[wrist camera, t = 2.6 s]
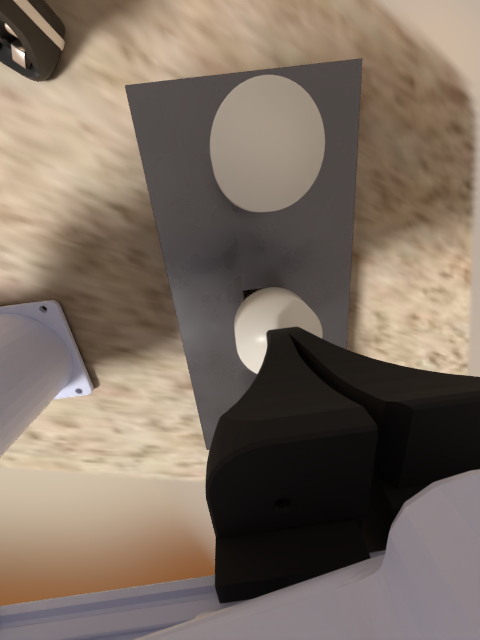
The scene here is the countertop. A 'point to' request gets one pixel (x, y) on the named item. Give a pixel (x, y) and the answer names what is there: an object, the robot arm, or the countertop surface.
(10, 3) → the battery charger
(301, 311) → the knob mid
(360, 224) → the countertop surface
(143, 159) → the mount plate
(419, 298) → the countertop surface
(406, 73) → the countertop surface
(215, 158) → the knob
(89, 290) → the countertop surface
